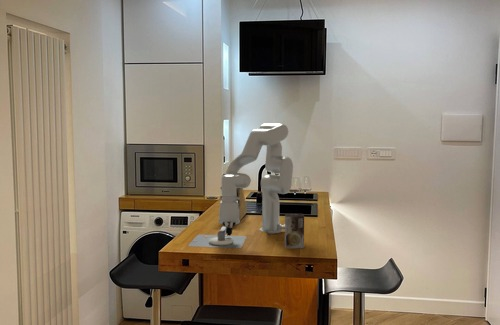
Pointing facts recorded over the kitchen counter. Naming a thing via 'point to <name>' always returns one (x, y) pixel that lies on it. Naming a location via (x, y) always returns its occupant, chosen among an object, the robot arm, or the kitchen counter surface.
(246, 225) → the kitchen counter surface
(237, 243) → the dial board
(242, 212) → the knife block
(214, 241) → the dial
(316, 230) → the kitchen counter surface
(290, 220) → the coffee box
